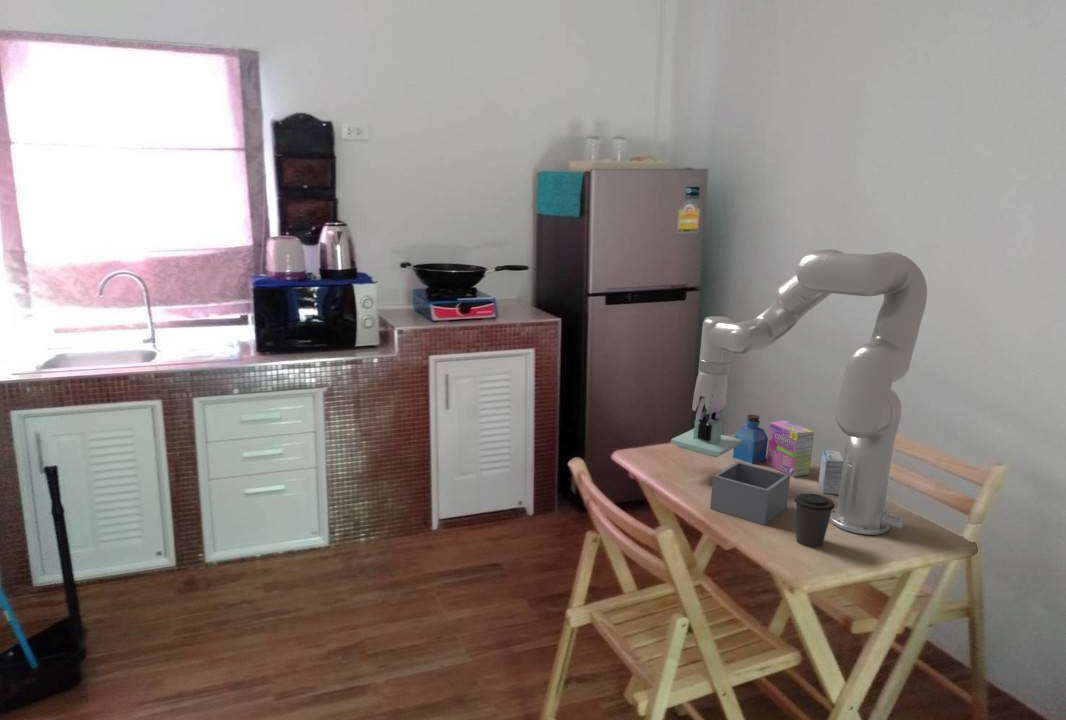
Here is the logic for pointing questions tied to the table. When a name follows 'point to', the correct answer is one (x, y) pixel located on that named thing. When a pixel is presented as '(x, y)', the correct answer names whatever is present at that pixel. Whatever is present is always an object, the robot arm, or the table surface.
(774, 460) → the box
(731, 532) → the table surface
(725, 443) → the lid
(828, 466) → the medicine box
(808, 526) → the coffee cup
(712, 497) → the parts tub
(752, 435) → the perfume bottle
